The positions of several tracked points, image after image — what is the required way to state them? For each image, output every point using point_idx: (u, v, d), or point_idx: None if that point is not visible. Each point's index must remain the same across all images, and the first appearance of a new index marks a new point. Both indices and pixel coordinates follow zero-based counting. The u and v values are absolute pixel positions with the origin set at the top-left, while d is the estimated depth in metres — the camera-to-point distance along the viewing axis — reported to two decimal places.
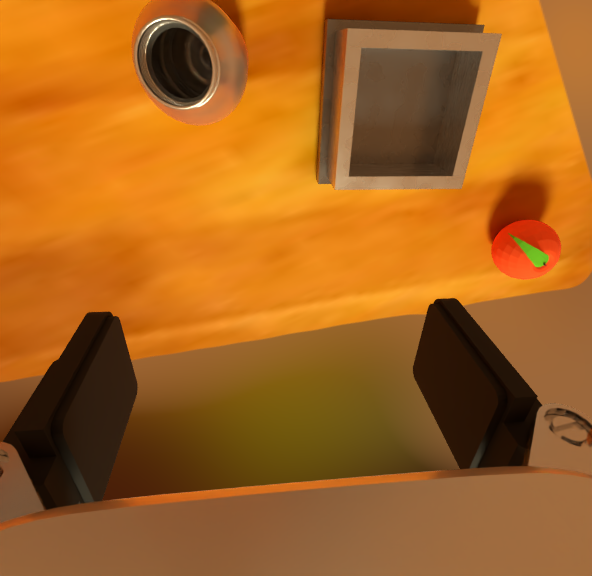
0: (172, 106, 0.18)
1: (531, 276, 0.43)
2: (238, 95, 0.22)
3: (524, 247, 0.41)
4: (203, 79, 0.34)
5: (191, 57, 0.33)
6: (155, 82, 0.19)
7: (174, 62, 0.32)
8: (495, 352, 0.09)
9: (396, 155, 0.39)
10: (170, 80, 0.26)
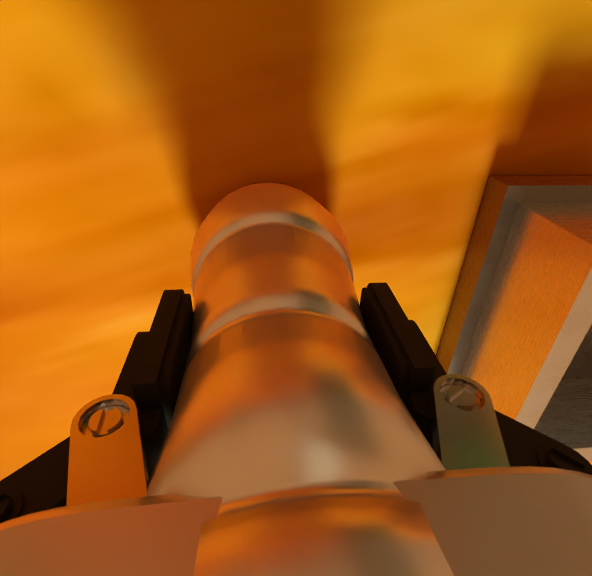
0: None
1: None
2: None
3: None
4: None
5: None
6: None
7: None
8: (408, 329, 0.10)
9: (572, 369, 0.23)
10: None
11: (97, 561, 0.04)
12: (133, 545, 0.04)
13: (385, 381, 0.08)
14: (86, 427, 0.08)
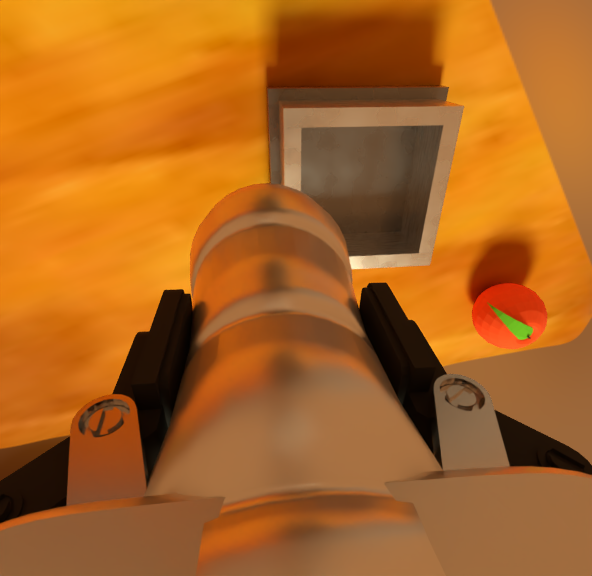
0: None
1: (515, 347, 0.39)
2: None
3: (505, 320, 0.37)
4: None
5: None
6: None
7: None
8: (408, 329, 0.10)
9: (358, 224, 0.35)
10: None
11: (97, 561, 0.04)
12: (133, 545, 0.04)
13: (383, 382, 0.08)
14: (86, 427, 0.08)
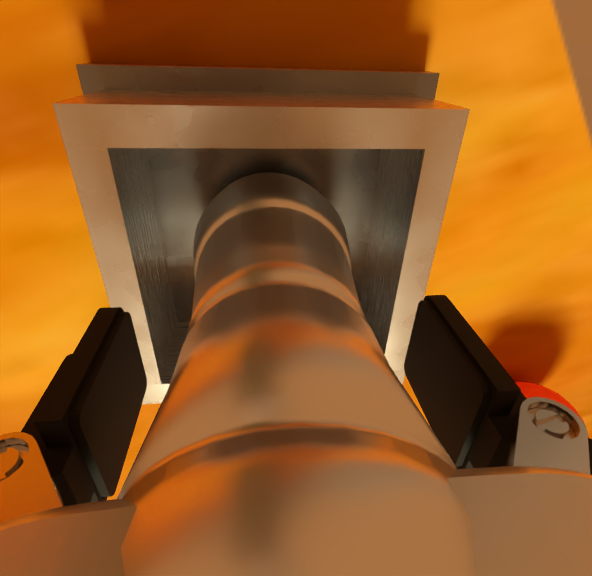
0: None
1: None
2: None
3: None
4: None
5: None
6: None
7: None
8: (481, 347, 0.09)
9: None
10: None
11: (97, 561, 0.04)
12: None
13: (374, 348, 0.08)
14: None
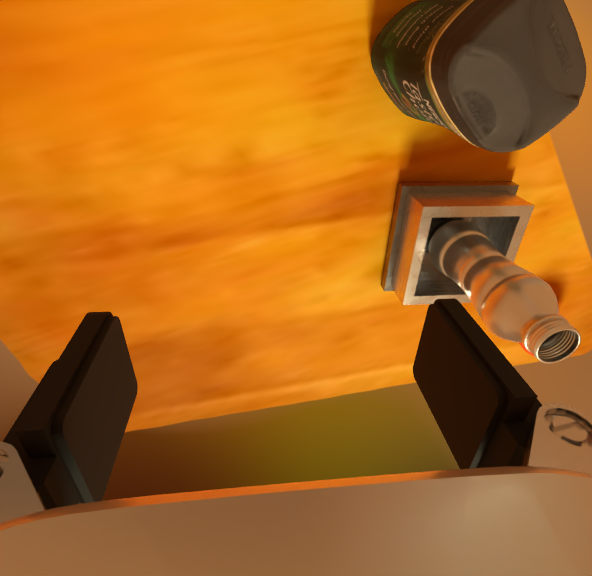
0: (546, 362, 0.31)
1: None
2: None
3: None
4: None
5: None
6: None
7: None
8: (495, 352, 0.09)
9: None
10: None
11: (97, 561, 0.04)
12: (133, 545, 0.04)
13: None
14: None
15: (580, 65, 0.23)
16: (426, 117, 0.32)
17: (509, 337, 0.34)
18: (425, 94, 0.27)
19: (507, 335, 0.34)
